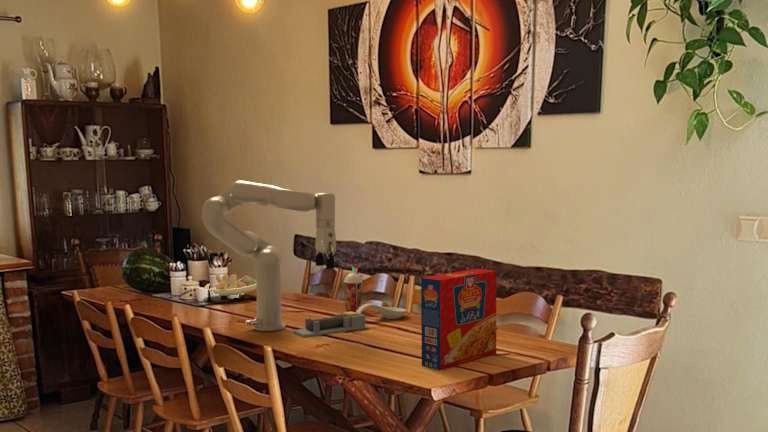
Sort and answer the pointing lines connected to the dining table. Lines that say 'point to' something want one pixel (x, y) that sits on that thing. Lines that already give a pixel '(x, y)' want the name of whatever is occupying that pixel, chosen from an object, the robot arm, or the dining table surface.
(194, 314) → the dining table surface
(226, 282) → the dish with food
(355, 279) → the smoothie
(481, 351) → the pasta box
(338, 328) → the clip rail
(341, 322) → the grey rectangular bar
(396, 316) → the spoon rest
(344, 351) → the dining table surface
